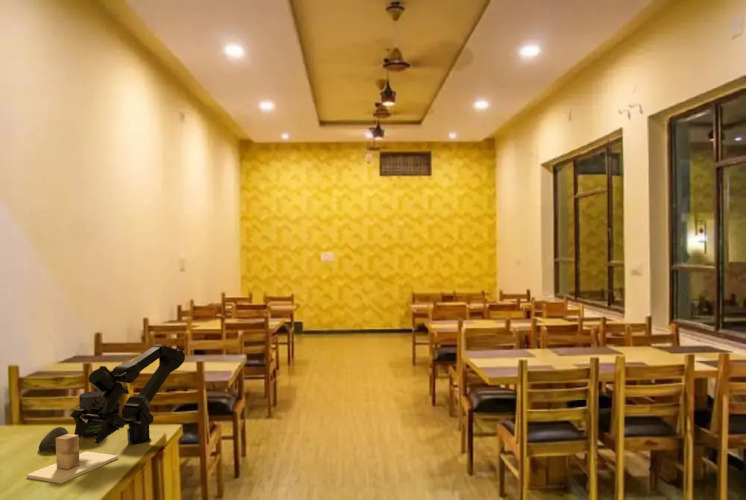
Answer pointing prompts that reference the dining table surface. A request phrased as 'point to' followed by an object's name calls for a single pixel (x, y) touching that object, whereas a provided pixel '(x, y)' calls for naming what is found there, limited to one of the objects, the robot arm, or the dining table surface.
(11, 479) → the dining table surface
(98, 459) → the board
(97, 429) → the storage jar
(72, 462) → the block
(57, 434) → the stone
